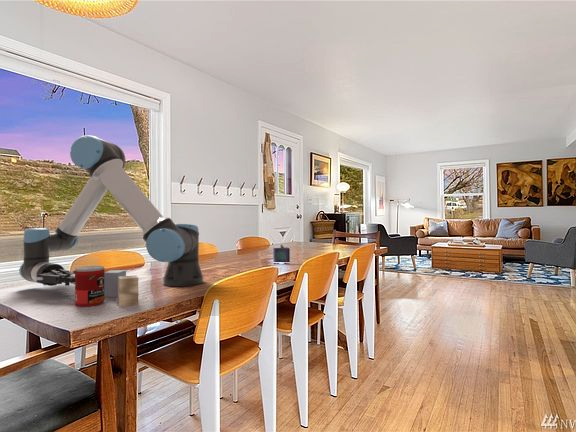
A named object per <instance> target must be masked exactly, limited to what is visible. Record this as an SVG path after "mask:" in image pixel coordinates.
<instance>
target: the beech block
mask: <svg viewBox="0 0 576 432" xmlns="http://www.w3.org/2000/svg"><path fill="white" fill-rule="evenodd" d="M117 299H118V300H117V302H118V305H119V307H127V306H133V305H134V306H135V305H139V276H137V275H136V274H135V275H134V274H133V275H126V276H121V277H118V297H117Z"/></svg>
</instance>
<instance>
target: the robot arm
mask: <svg viewBox="0 0 576 432" xmlns="http://www.w3.org/2000/svg"><path fill="white" fill-rule="evenodd" d="M69 154H70V155H69V157H70V160H71V161H72V163H73V164H74V165H75V166H77V167H78V168H80V169H84V170H85V171H86V172H87V173H88V174H89V176H90V177H89V178H88V181H87V182H86V183H85V185H84V186H83V189H82V190H80V193H79V194H78V196H77V197H76V199H75V201H74V202H73V203H72V205H71V207H70V208H69V210H68V211H67V212H66V215H64V217H63V218H62V221H61V222H60V224H59V225H58V226H57V228H56V230H55V231H54V232H50V230H49V228H47V227H46V228H45V227H43V228H41V227H36V228H35V227H33V228H26V229H25V230H24V232H23V240H22V242H23V263H22V264H21V265H20V267H19V270H18V271H19V273H18V274H19V276H20V277H22V279H24V280H25V281H28V282H32V283H37V284H42V285H43V286H48V287H49V286H50V287H52V286H56V285H61V284H64V285H65V286H66V287H67V286H70V285H71V284H72V285H75V269H74V270H72V272H71V271H70V270H67V269H65V268H64V267H63V266H62V265H60V264H58V263H54V262H50V253H55V252H61V251H63V252H64V251H69V250H72V249H74V248H76V246H77V245H78V243H79V237H78V235H79V234H80V232H81V231H82V229H83V227H85V225H86V223H87V222H88V221H89V218H91V216H92V214H93V213H94V211H95V209H96V208H97V207H98V205H99V203H100V202H101V200H102V199H103V198H104V196H105V195H106V193H107V192H108V191H109V192H110V194H111V195H112V196H113V198H115V200H116V202H118V204H119V205H120V206H121V207H122V208H123V210H124V211H125V212H126V213H127V214H128V215H129V217H130V218H131V219H132V220H133V222H134V223H135V224H136V225H137V226H138V228H139V229H140V230H141V231H142V237H141V238H142V239H143V241H144V242H145V243H146V246H145V248H146V251H147V253H148V254H149V256H150V257H151V258H152V259H153V260H155V261H158V262H161V263H167V266H166V269H165V273H164V275H163V279H162V280H163V281H162V284H163V285H164V286H166V287H167V286H168V287H189V286H196V285H200V284H202V283H203V282H204V276H203V271H202V269H201V266H200V262H199V259H200V258H199V254H200V253H199V245H200V244H199V243H200V241H199V239H200V238H199V235H200V232H199V226H197V225H195V224H192V223H191V224H188V223H175V222H174V221H173V220H172V218H170V217H165V216H163V214H161V212H160V211H159V209H157V208H156V206H155V205H154V204H153V202H152V201H151V200H150V199H149V198H148V197H147V195H145V193H144V192H143V191H142V189H141V188H140V187H139V186H138V184H136V182H135V181H134V180H133V179H132V177H131V176H130V175H129V174H128V173H127V171H126V170H125V166H126V156H125V152H124V151H123V150H122V148H121V147H120V146H118V145H117V144H114V143H113V142H109V141H106V140H104V139H102V138H100V137H98V136H95V135H89V134H88V135H82V136H80V137H78V138H76V139H75V140H74V142H73V143H72V144H71V147H70V151H69Z"/></svg>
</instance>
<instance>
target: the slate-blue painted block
mask: <svg viewBox="0 0 576 432" xmlns="http://www.w3.org/2000/svg"><path fill="white" fill-rule="evenodd" d="M104 272H105V280H104V298H118V277H121V276H127V270H125V269H124V270H123V269H121V270H119V269H117V270H116V269H115V270H114V269H112V270H111V269H110V270H108V271H104Z"/></svg>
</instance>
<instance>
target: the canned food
mask: <svg viewBox="0 0 576 432" xmlns="http://www.w3.org/2000/svg"><path fill="white" fill-rule="evenodd" d="M74 270H75V284H74V303H75V306H77V307H83V308H84V307H94V306H95V307H96V306H98V305H102V304H104V302H105V297H104V280H105V272H106V271H105V266H103V265H84V266H78V267H76V268H75V269H74Z"/></svg>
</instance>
